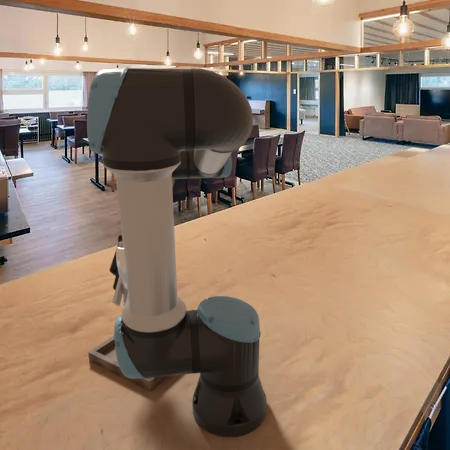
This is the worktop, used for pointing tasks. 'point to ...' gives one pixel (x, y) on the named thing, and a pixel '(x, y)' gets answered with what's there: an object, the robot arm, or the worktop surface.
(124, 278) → the silver metal cup
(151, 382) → the walnut tray
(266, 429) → the worktop surface
